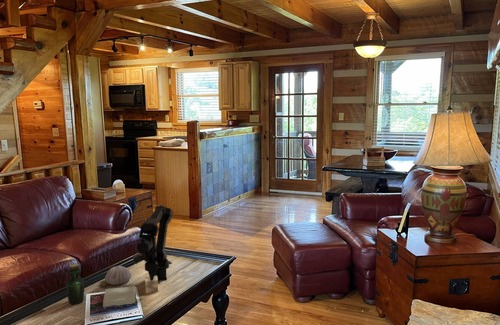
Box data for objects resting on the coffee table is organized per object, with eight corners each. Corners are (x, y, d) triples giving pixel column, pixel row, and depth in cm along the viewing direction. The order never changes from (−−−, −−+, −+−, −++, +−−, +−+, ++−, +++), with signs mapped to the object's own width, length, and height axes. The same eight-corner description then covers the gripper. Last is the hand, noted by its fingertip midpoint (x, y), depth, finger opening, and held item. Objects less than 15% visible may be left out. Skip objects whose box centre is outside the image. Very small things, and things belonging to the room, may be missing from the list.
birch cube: (157, 286, 202) (157, 275, 201) (158, 291, 196) (157, 280, 195) (145, 288, 200) (145, 277, 199) (145, 293, 194) (145, 281, 194)
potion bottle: (70, 297, 190) (68, 262, 187) (88, 297, 190) (86, 261, 188) (64, 305, 181) (61, 268, 179) (82, 305, 182) (80, 268, 180)
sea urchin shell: (136, 280, 210) (135, 266, 209) (113, 288, 199) (112, 273, 199) (122, 274, 218) (121, 260, 217) (99, 282, 208) (99, 267, 207)
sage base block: (135, 291, 196) (135, 285, 196) (135, 304, 183) (134, 298, 182) (105, 295, 192) (105, 289, 192) (103, 308, 179) (103, 302, 178)
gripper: (133, 242, 202) (135, 271, 204) (133, 254, 185) (134, 286, 186) (155, 240, 205) (156, 269, 207) (157, 252, 188) (158, 283, 189)
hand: (151, 276), depth 197 cm, fingers open, 9 cm apart
